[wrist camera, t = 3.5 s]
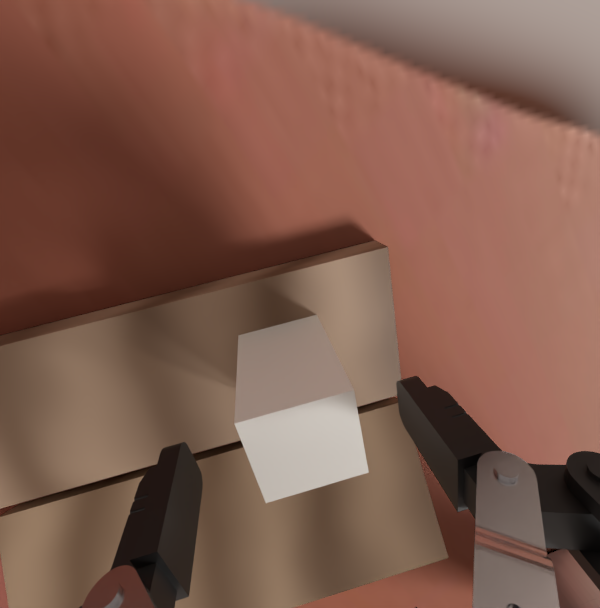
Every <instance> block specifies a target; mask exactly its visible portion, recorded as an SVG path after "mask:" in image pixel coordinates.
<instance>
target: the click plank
mask: <svg viewBox="0 0 600 608" xmlns="http://www.w3.org/2000/svg"><path fill="white" fill-rule="evenodd" d="M357 409H358V415H359V421H360V426H361V432H362V437H363V443H364V449H365V454H366V460H367V465H368V471H369V473H366V474H362V475H359V476H355V477H352V478H349V479H345V480H342V481H339V482H335V483H332V484H329V485H325V486H322V487H319V488H315V489H312V490H309V491H305V492H302V493H299V494H295V495H292V496H289V497H285V498H282V499H278V500H275V501H272V502H268V503H266V502H265V500H264V497H263V495H262V492H261V490H260V487H259V485H258V482H257V480H256V477H255V475H254V472H253V470H252V467H251V465H250V462H249V459H248V457H247V454H246V452H245V449H244V447H243V444H242V442H241V441H238V442H235V443H231V444H228V445H224V446H221V447H217V448H214V449H210V450H207V451H203V452H200V453H196V454H193V456H194V458H195V460H196V462H197V464H198V466H199V468H200V471H201V474H202V480H203V489H202V497H201V505H200V513H199V521H198V529H197V537H196V545H195V553H194V561H193V569H192V577H191V585H190V593H189V597H187V598H184V599H180V600H177V601H176V602H175V608H293V607H297V606H300V605H303V604H306V603H309V602H312V601H315V600H318V599H322V598H325V597H328V596H331V595H334V594H337V593H340V592H343V591H347V590H350V589H353V588H356V587H359V586H362V585H365V584H368V583H372V582H375V581H378V580H381V579H384V578H387V577H390V576H393V575H396V574H400V573H403V572H406V571H409V570H412V569H415V568H418V567H421V566H425V565H428V564H431V563H434V562H437V561H440V560H443V559H446V558H448V554H447V551H446V547H445V544H444V541H443V537H442V534H441V530H440V527H439V524H438V520H437V517H436V513H435V510H434V507H433V503H432V500H431V496H430V493H429V490H428V486H427V483H426V479H425V476H424V473H423V469H422V466H421V462H420V459H419V456H418V452H417V449H416V445H415V443H414V441H413V440H412V438H411V437H410V435H409V433H408V432H407V430H406V429H405V427H404V425H403V423H402V420H401V417H400V414H399V406H398V399H397V398H395V397H392V398H389V399H385V400H382V401H378V402H375V403H371V404H368V405H364V406H361V407H357ZM154 466H157V465H154ZM154 466H151V467H154ZM151 467H147V468H144V469H140V470H137V471H133V472H130V473H126V474H123V475H119V476H116V477H112V478H109V479H105V480H102V481H98V482H95V483H91V484H88V485H84V486H81V487H77V488H74V489H70V490H67V491H63V492H60V493H56V494H53V495H49V496H46V497H42V498H39V499H35V500H32V501H28V502H25V503H21V504H19V505H17V506H15V507H14V508H12V509H10V510H9V511H7V512H5V513H4V514H2V515H0V554H1V560H2V567H3V574H4V580H5V587H6V593H7V600H8V606H9V608H79V607H80V606H82V605H83V603H84V601H85V599H86V597H87V595H88V594H89V592H90V590H91V589H92V588H93V586H94V585H95V584H96V583H97V582H98V581H99V580H100V579H101V578H102V577H103V576H104V575H105V574H106V573H108V572H109V571H110V569H111V567H112V564H113V561H114V558H115V555H116V552H117V549H118V546H119V543H120V540H121V537H122V534H123V531H124V528H125V525H126V522H127V519H128V516H129V515H130V509H131V506H132V503H133V502H134V497H135V494H136V491H137V488H138V485H139V483H140V481H141V480H142V478H143V477H144V475H145V474H146V472H147V471H148V469H149V468H151Z"/></svg>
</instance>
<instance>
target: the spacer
mask: <svg viewBox="0 0 600 608" xmlns="http://www.w3.org/2000/svg"><path fill="white" fill-rule="evenodd" d="M234 424H235V427H236V429H237V432H238V434H239V437H240V439H241V442H242V444H243V447H244V449H245V452H246V454H247V457H248V459H249V462H250V465H251V467H252V470H253V472H254V475H255V477H256V480H257V482H258V485H259V487H260V490H261V492H262V495H263V497H264V500H265V502H266V503H268V502H272V501H275V500H278V499H282V498H285V497H289V496H292V495H295V494H299V493H302V492H305V491H309V490H312V489H315V488H319V487H322V486H325V485H329V484H332V483H335V482H339V481H342V480H345V479H349V478H352V477H355V476H359V475H362V474H366V473H369V471H368V465H367V460H366V454H365V449H364V443H363V437H362V432H361V426H360V421H359V415H358V409H357V404H356V398H355V393H354V389H353V387H352V385H351V383H350V381H349V379H348V377H347V375H346V373H345V371H344V369H343V367H342V365H341V363H340V361H339V359H338V357H337V355H336V353H335V351H334V349H333V347H332V345H331V343H330V341H329V338H328V336H327V334H326V332H325V330H324V328H323V326H322V324H321V322H320V320H319V318H318V316H317V315H313V316H310V317H306V318H302V319H298V320H295V321H291V322H287V323H283V324H280V325H276V326H272V327H268V328H264V329H261V330H257V331H253V332H249V333H246V334H242V335H238V355H237V376H236V398H235V419H234Z"/></svg>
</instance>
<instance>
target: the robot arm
mask: <svg viewBox="0 0 600 608" xmlns="http://www.w3.org/2000/svg"><path fill="white" fill-rule="evenodd" d="M396 387H397V397H398V406H399V414H400V417H401V420H402V423H403V425H404V427H405V429H406V430H407V432H408V433H409V435H410V437H411V438H412V440H413V441H414V443H415V445H416V446H417V448H418V449H419V451H420V453H421V454H422V456H423V457H424V459H425V461H426V462H427V464H428V465H429V467H430V469H431V470H432V472H433V473H434V475H435V477H436V478H437V480H438V481H439V483H440V485H441V486H442V488H443V489H444V491H445V493H446V494H447V496H448V497H449V499H450V501H451V502H452V504H453V505H454V507H455V509H456V510H457V512H459V511H463V510H466V509H469V510H470V512H471V513H472V515H473V516H474V518H475V543H474V574H473V604H472V608H600V454H599V453H595V452H589V451H581V452H576V453H573V454H572V455H570V456H569V458H568V460H567V463H566V465H537V464H529V463H526V462H525V461H524V460H522V459H521V458H519V457H518V456H516V455H513V454H511V453H508V452H504V451H502V450H501V449H500V448H499V447H498V446H497V445H496V444H495V443H494V442H493V441H492V440H491V439H490V438H489V437H488V435H487V434H486V433H485V432H484V431H483V430H482V429H481V428H480V427H479V426H478V425H477V423H476V422H475V421H474V420H473V419H472V418H471V417H470V416H469V415H468V414H466V411H465V410H464V409H463V408H462V407H461V406H459V405H458V403H457V402H456V401H455V400H454V398H453V397H452V396H451V395H450V394H449V393H448V392H446V391H444V390H442V389H440V388H439V387H437V386H431V387H428V388H427V387H426V386H425V384H424V383H423V382H422V381H421V380H420V378H419V377H417V376H414V377H410V378H407V379H403V380H400V381H397V383H396ZM202 489H203V480H202V474H201V471H200V468H199V466H198V464H197V462H196V460H195V458H194V456H193V454H192V453H191V451H190V449H189V447H188V445H187V443H186V442H182V443H179V444H175V445H172V446H168V447H165V448H163V449H162V450H161V453H160V456H159V459H158V463H157V466H154V467H151V468H149V469H148V471H147V472H146V474H145V475H144V477H143V478H142V480H141V481H140V483H139V485H138V488H137V491H136V494H135V497H134V502H133V503H132V506H131V509H130V515H129V516H128V519H127V522H126V525H125V528H124V531H123V534H122V537H121V540H120V543H119V546H118V549H117V552H116V555H115V558H114V561H113V564H112V567H111V569H110V571H109V572H108V573H106V574H105V575H104V576H103V577H102V578H101V579H100V580H99V581H98V582H97V583H96V584H95V585H94V586H93V588H92V589H91V590H90V592H89V594H88V595H87V597H86V599H85V601H84V603H83V605H82V606H80V607H79V608H175V602H176V601H177V600H180V599H184V598H187V597H189V593H190V585H191V577H192V569H193V561H194V553H195V545H196V537H197V529H198V521H199V513H200V505H201V497H202ZM546 548H555V549H561V550H557V551H555V552H552V553H550V554H548V555H547V551H546ZM416 608H417V607H416Z"/></svg>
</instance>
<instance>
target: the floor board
mask: <svg viewBox="0 0 600 608" xmlns="http://www.w3.org/2000/svg"><path fill="white" fill-rule="evenodd" d="M313 315H317V316H318V318H319V320H320V322H321V324H322V326H323V328H324V330H325V332H326V334H327V336H328V338H329V341H330V343H331V345H332V347H333V349H334V351H335V353H336V355H337V357H338V359H339V361H340V363H341V365H342V367H343V369H344V371H345V373H346V375H347V377H348V379H349V381H350V383H351V385H352V387H353V389H354V393H355V398H356V404H357V407H358V406H362V405H365V404H369V403H372V402H376V401H380V400H383V399H387V398H390V397H394V396H397V387H396V383H397V381H400V380H401V373H400V363H399V353H398V343H397V333H396V323H395V313H394V303H393V293H392V283H391V273H390V263H389V253H388V247H387V246H385V245H383V244H381V243H379V242H377V241H376V240H375V241H371V242H367V243H363V244H359V245H355V246H351V247H347V248H343V249H339V250H336V251H332V252H328V253H324V254H320V255H316V256H312V257H308V258H304V259H300V260H296V261H292V262H288V263H284V264H280V265H276V266H272V267H268V268H265V269H261V270H257V271H253V272H249V273H245V274H241V275H237V276H233V277H229V278H225V279H221V280H217V281H213V282H209V283H205V284H201V285H198V286H194V287H190V288H186V289H182V290H178V291H174V292H170V293H166V294H162V295H158V296H154V297H150V298H146V299H142V300H138V301H134V302H131V303H127V304H123V305H119V306H115V307H111V308H107V309H103V310H99V311H95V312H91V313H87V314H83V315H79V316H75V317H71V318H67V319H63V320H60V321H56V322H52V323H48V324H44V325H40V326H36V327H32V328H28V329H24V330H20V331H16V332H12V333H8V334H4V335H0V509H1V508H4V507H8V506H11V505H15V504H18V503H22V502H25V501H29V500H32V499H36V498H39V497H43V496H46V495H50V494H53V493H57V492H60V491H64V490H67V489H71V488H74V487H78V486H81V485H85V484H88V483H92V482H96V481H99V480H103V479H106V478H110V477H113V476H117V475H120V474H124V473H127V472H131V471H134V470H138V469H141V468H145V467H148V466H152V465H155V464H157V463H158V459H159V456H160V453H161V450H162V449H163V448H165V447H168V446H172V445H175V444H179V443H182V442H186V443H187V445H188V447H189V449H190V451H191V453H192V454H194V453H197V452H201V451H204V450H208V449H211V448H215V447H218V446H222V445H225V444H229V443H232V442H236V441H239V440H241V439H240V437H239V434H238V432H237V429H236V427H235V424H234V419H235V398H236V376H237V355H238V335H242V334H246V333H249V332H253V331H257V330H261V329H264V328H268V327H272V326H276V325H280V324H283V323H287V322H291V321H295V320H298V319H302V318H306V317H310V316H313Z"/></svg>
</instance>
